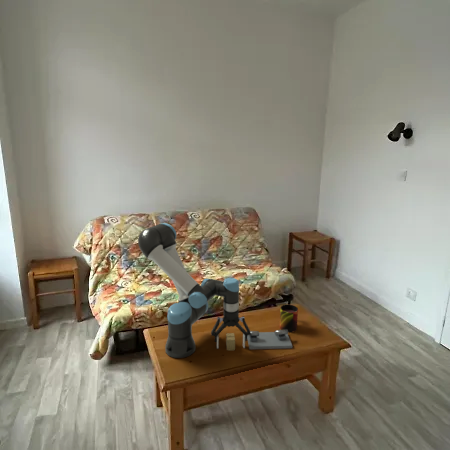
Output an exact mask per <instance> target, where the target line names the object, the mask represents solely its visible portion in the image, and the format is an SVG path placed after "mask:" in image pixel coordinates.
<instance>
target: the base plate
mask: <svg viewBox="0 0 450 450" xmlns="http://www.w3.org/2000/svg"><path fill="white" fill-rule="evenodd" d="M285 336H286V340H281V341H279V339H278V338H277V336H276V335H275V331H264V332H263V331H260V332H259V336H257V342H250V338H249V336H248V335H247V343H248V349H249V350H270V349H272V350H275V349H278V350H279V349H293V344H292V341H291V339H290V337H289V333H288V334H285Z"/></svg>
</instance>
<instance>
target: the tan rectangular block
mask: <svg viewBox="0 0 450 450" xmlns="http://www.w3.org/2000/svg"><path fill="white" fill-rule="evenodd" d="M225 336H226V340H225V344H226V351H235V349H236V338H235V337H236V336H235V332H232V333H226V334H225Z"/></svg>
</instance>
